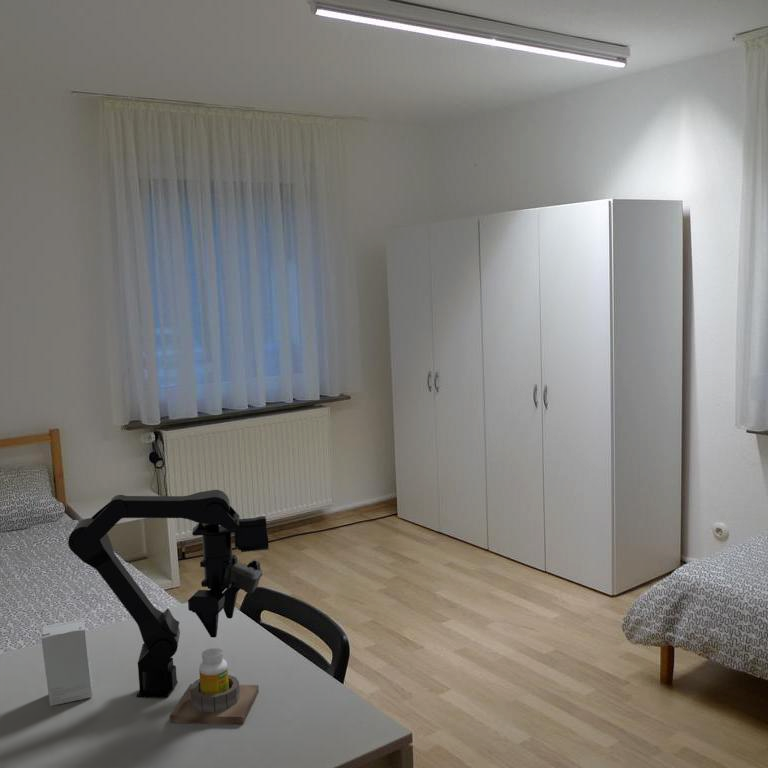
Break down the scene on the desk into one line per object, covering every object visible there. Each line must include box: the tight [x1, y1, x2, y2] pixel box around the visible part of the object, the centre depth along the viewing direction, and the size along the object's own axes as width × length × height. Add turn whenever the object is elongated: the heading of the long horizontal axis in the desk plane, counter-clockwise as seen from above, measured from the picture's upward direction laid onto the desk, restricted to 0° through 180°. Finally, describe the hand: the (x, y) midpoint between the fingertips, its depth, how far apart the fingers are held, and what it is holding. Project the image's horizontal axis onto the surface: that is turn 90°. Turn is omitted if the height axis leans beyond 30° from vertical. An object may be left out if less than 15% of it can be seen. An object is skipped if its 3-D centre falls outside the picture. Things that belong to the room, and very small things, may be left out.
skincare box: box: [40, 618, 93, 707], centre depth 163 cm, size 8×6×15 cm
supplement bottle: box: [198, 647, 229, 694], centre depth 157 cm, size 5×5×10 cm
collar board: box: [169, 674, 260, 726], centre depth 157 cm, size 14×12×4 cm
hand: (221, 627), depth 166 cm, fingers open, 9 cm apart
